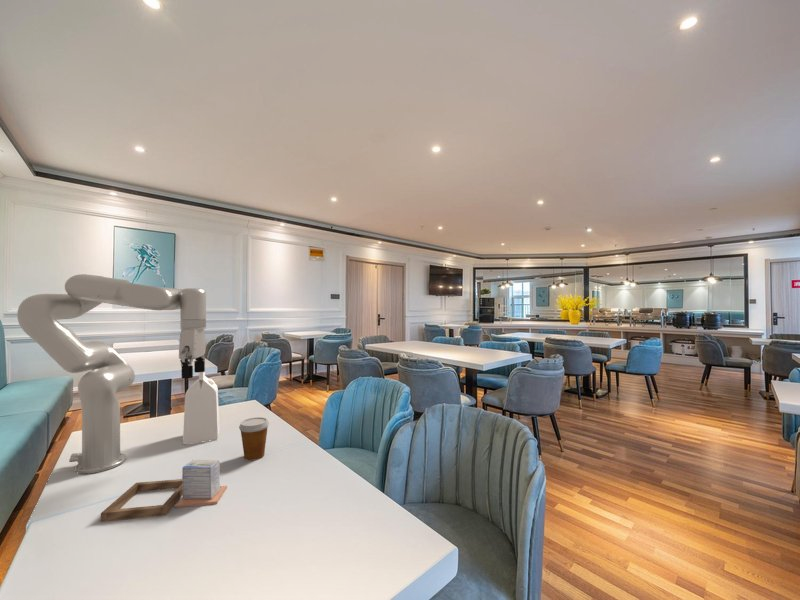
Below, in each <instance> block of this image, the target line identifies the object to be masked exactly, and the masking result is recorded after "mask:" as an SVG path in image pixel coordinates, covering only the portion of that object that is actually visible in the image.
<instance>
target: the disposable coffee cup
mask: <svg viewBox="0 0 800 600" xmlns="http://www.w3.org/2000/svg"><path fill="white" fill-rule="evenodd" d="M269 425H270V422H269V420H268V418H266V417H258V416H257V417H251V418H246V419H244V420H242V421H241V422H240V423H239V426H238V428H239V431H240V436H241V441H242V449H243V456H244V457H243V458H244V460H245V461H256V460H259V459H262V458H263V457H264V456H265V452H266V451H265V450H266V444H267V436H268V435H267V433H268V428H269Z"/></svg>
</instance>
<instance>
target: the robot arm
mask: <svg viewBox="0 0 800 600" xmlns="http://www.w3.org/2000/svg"><path fill="white" fill-rule="evenodd" d="M64 290H65V293H63V294H62V293H40V294H39V293H38V294H34V295H30V296H28V297H26V298H25V299H23V300H22V302H21V303H20V304H19V306H18V308H17V312H16V313H17V314H16V315H17V322H18V324H19V327H20V328H21V330H22V331H23V332H24V333H25V334H26V335H27V336H28V337H29V338H31V339H32V340H33V341H34V342H36V344H38V345H39V347H41V349H43V350H44V351H45V352H46V354H47V355H48V356H49V357H50V358H51V359H53V361H55V362H56V363H57V364H58V365H59V366H60V367H61V368H62V369H63V370H64V371H66V372H68V373H71V374H77V373H78V374H79V373H84V372H87V371H88V372H87V373H85V374H83V375H82V377H81V378H80V379H79V381H78V384H77V392H78V396H79V400H80V406H81V452H74V453H73V452H72V453H71V455H70V457H69V459H68V461H69V463H73V462H74V463H75V462H77V465H76V466H75V470H76V471H75V472H76V473H77V472H78V474H81V473H88V474H95V472H96V473H100V471H101V472H105V471H107V470H110V469H114V468H116V467H118V466H121V465H122V464H123V463H125V461H126V460H127V455H126V453H125V454H124V453H121V405H120V401H119V399H118V397H117V394H116V393H118V392H120V391H123V390H126V389H127V388H129V387H130V386H131V385H132V384H133V383H134V381H135V379H136V375H135V371H134V369H133V367H132V366H131V365H130V364H129V363H128V362H127V360H125V359H124V358H123V357H122V356H121V355H120V354H119V352H117V351H116V349H114V348H113V346H111V345H109V344H107V343H106V342H104V341H99V340H93V341H92V340H91V341H84V340H83V339H81V338H80V337H79V336H78V335H77V334H76V333H75V332H74V331H73V330H72V329H71V328H69V327H68V326H66V325H65V324H63V323H61V322H59V321H58V320H73V319H75V318H79V317H81V316H83V315H85V314H86V313H88V312H90V311H92V310H93V309H96V307H98V306H99V305H101V304H110V305H115V306H116V305H117V306H122V307H129V308H134V309H135V308H136V309H144V310H151V311H176V310H177V311H178V310H180V314H179V315H180V327H179V328H180V335H179V343H178V344H179V345H178V358H179V360H180V361H179V362H180V367H181V379H192V378H193V377H194V373H199V372H204V371H206V369H205V368H206V365H205V364H206V361H205V360H206V349H207V348H206V334H205V330H206V329H207V293H206V290H205V289H203V288H196V287H195V288H183V289H182V288H175V287H165V286H162V287H160V286H155V285H154V286H152V285H145V284H140V283H133V282H130V281H129V280H126V279H123V278H122V279H120V278H113V277H106V276H104V275H103V276H102V275H95V274H75V275H73V276H70V277H69V278H68V279H67V280H66V281H65V284H64ZM66 293H67V294H66ZM193 361H194V362H193ZM192 364H193V365H192ZM193 371H194V372H193Z"/></svg>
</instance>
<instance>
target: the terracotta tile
mask: <svg viewBox="0 0 800 600" xmlns="http://www.w3.org/2000/svg"><path fill="white" fill-rule="evenodd" d="M227 489H228V485H220V490H219V491H218V492H217V494H216V495H215V496H214V497H213V498H212V499H183V496H182V497H181V498H180V499H179V500H178V501H177V503H176V504H175V508H184V507H195V506H207V505H215V504H216V505H217V504H218V503H219V501H220V500H221V498H222V497H223V495H224V493H225V491H227Z"/></svg>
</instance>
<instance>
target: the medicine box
mask: <svg viewBox="0 0 800 600" xmlns="http://www.w3.org/2000/svg"><path fill="white" fill-rule="evenodd" d="M181 472H182V478H181V479H182V481H183V496H182V497H183V499H212V498H213V497H214V496H215V495H216V494H217V492H218V491H219V490H220V486H221V482H220V481H221V480H220V479H221V478H220V475H221V473H220V460H219V459H191V460H190V461H189V462H187V463H186V464H185V465H183V466H182V471H181Z"/></svg>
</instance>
